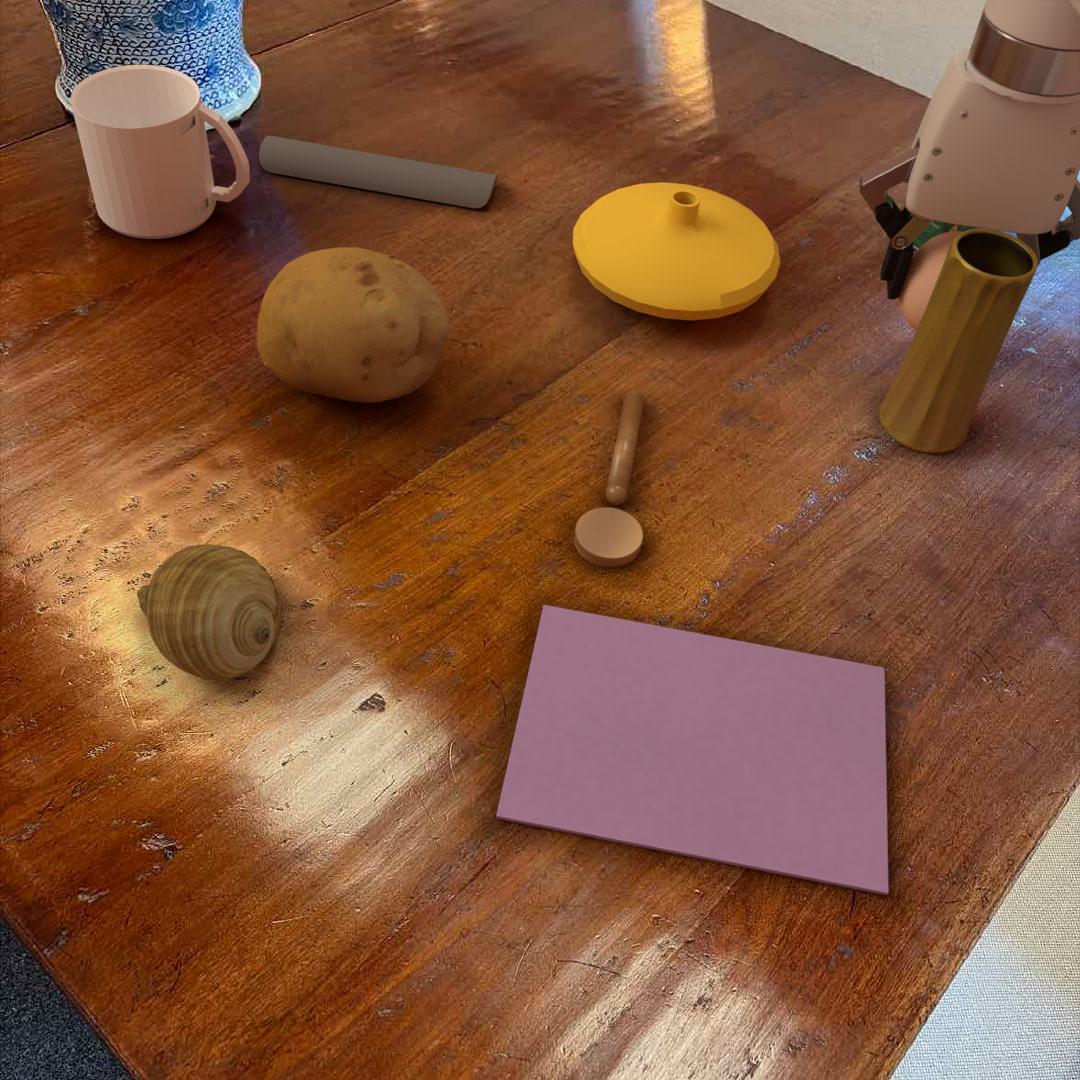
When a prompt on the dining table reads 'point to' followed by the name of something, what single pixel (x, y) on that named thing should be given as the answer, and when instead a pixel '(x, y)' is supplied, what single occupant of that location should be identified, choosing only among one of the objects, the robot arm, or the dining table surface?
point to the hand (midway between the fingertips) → (943, 294)
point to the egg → (923, 277)
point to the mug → (151, 150)
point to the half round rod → (376, 172)
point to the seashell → (212, 611)
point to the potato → (351, 325)
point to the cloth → (703, 749)
